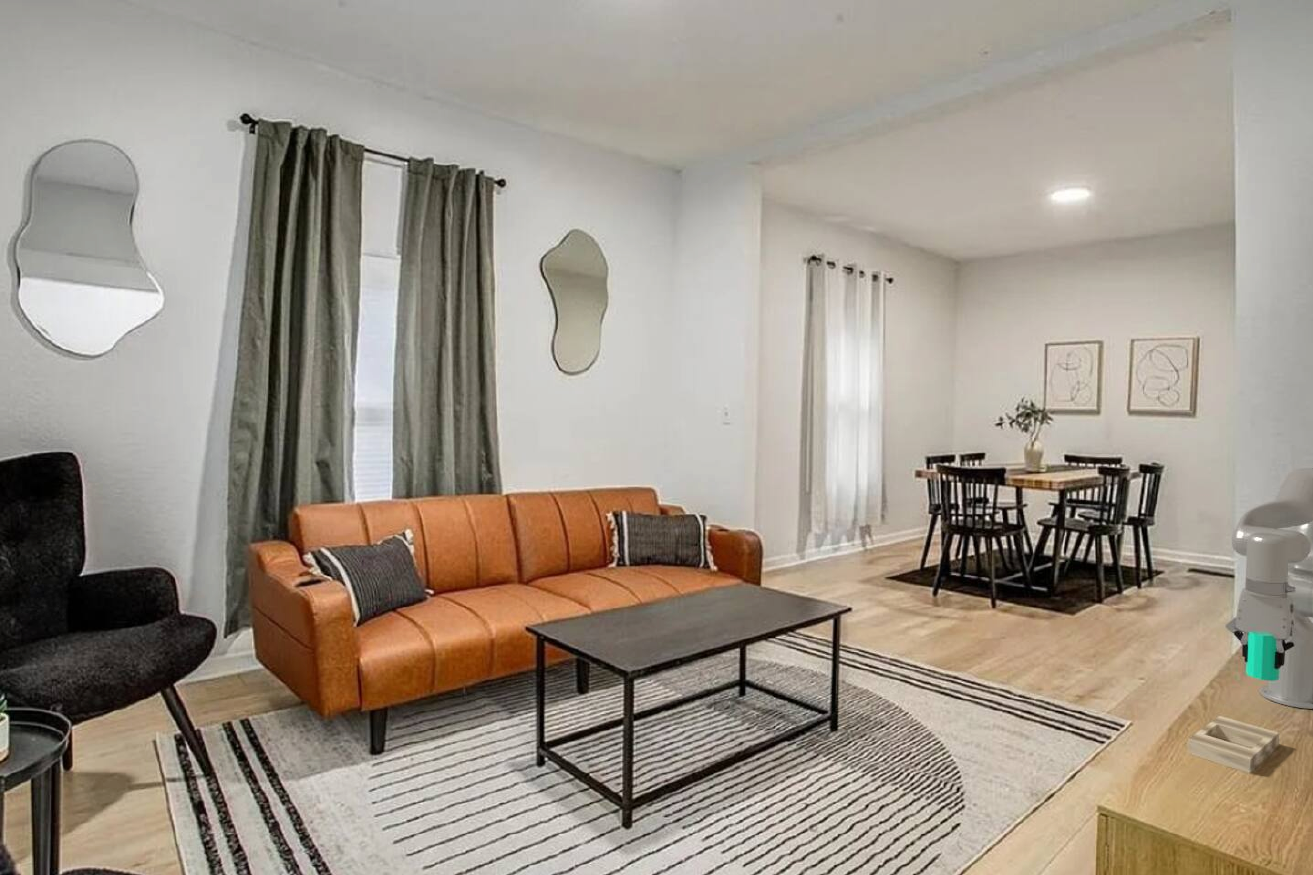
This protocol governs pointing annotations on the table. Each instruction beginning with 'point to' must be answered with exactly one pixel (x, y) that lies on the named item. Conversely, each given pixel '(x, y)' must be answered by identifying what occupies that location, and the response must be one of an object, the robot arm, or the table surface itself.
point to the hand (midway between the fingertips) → (1262, 663)
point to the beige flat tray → (1231, 753)
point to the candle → (1262, 657)
